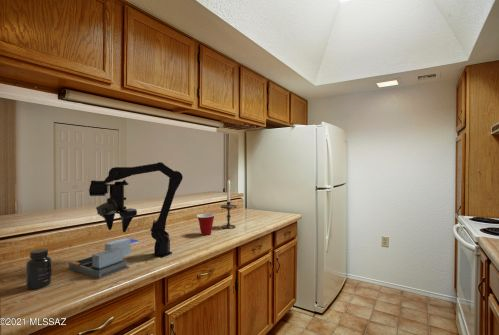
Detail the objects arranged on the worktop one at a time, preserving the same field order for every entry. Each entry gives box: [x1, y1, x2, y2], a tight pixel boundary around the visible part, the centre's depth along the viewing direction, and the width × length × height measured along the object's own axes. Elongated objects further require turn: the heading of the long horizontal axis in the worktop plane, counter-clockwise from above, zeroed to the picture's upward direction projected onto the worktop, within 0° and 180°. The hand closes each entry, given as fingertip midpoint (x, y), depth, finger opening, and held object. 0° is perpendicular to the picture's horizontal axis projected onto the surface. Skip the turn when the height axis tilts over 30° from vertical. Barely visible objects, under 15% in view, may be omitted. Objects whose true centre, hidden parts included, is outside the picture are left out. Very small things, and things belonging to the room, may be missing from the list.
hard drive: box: [130, 238, 140, 245], centre depth 141 cm, size 2×8×12 cm
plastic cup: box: [196, 212, 216, 236], centre depth 162 cm, size 11×11×12 cm
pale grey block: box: [104, 238, 132, 258], centre depth 122 cm, size 10×4×7 cm, turn 152°
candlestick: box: [219, 175, 238, 230], centre depth 180 cm, size 11×11×35 cm
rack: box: [67, 247, 130, 280], centre depth 108 cm, size 13×20×7 cm, turn 62°
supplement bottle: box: [25, 248, 52, 291], centre depth 92 cm, size 7×7×12 cm
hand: (117, 230), depth 120 cm, fingers open, 9 cm apart
